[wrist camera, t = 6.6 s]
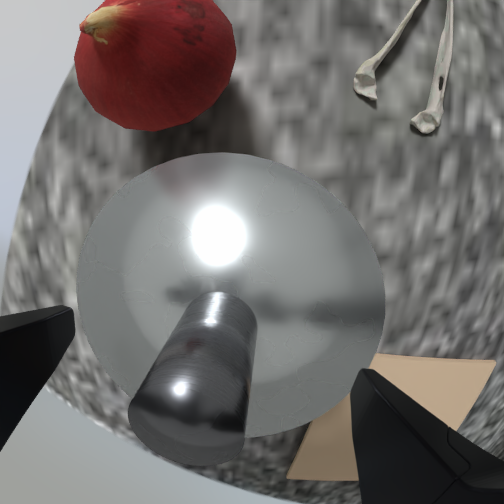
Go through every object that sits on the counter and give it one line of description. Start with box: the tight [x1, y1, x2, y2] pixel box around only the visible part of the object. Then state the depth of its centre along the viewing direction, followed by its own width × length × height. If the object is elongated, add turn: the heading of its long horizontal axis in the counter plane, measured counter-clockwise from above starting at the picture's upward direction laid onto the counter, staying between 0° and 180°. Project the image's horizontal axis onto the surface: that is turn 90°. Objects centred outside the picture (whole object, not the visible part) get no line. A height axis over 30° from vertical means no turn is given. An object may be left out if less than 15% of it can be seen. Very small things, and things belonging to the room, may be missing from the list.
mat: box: [287, 353, 496, 481], centre depth 17 cm, size 12×12×1 cm
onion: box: [74, 0, 236, 131], centre depth 9 cm, size 6×6×8 cm
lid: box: [77, 152, 385, 466], centre depth 9 cm, size 12×12×6 cm
